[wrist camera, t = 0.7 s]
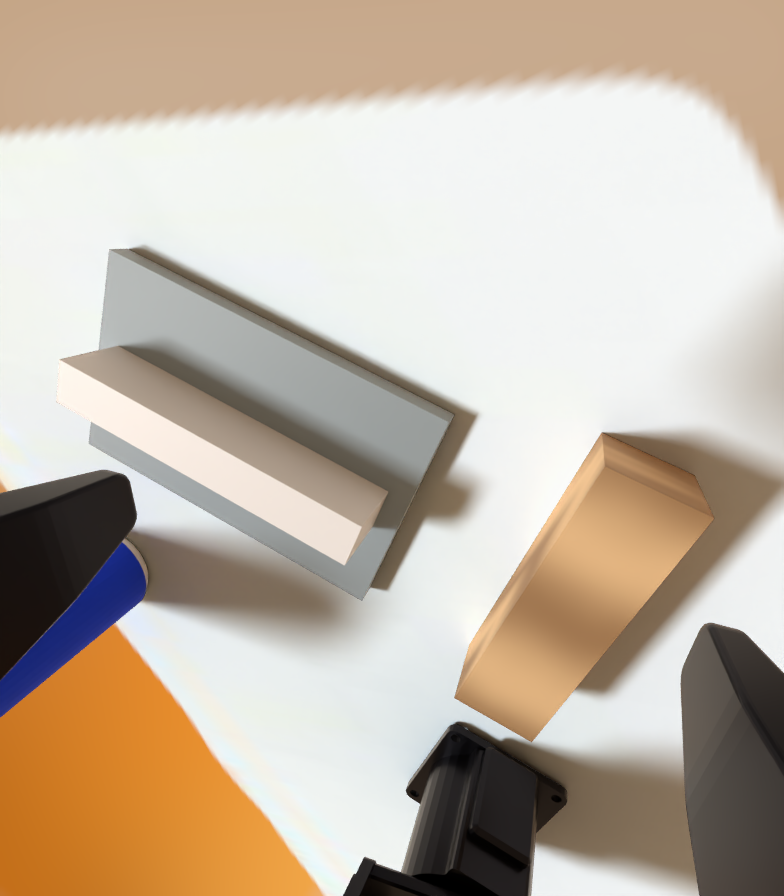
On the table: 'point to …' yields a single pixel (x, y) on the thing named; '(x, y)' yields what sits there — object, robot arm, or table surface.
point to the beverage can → (79, 623)
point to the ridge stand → (252, 421)
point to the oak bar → (581, 583)
